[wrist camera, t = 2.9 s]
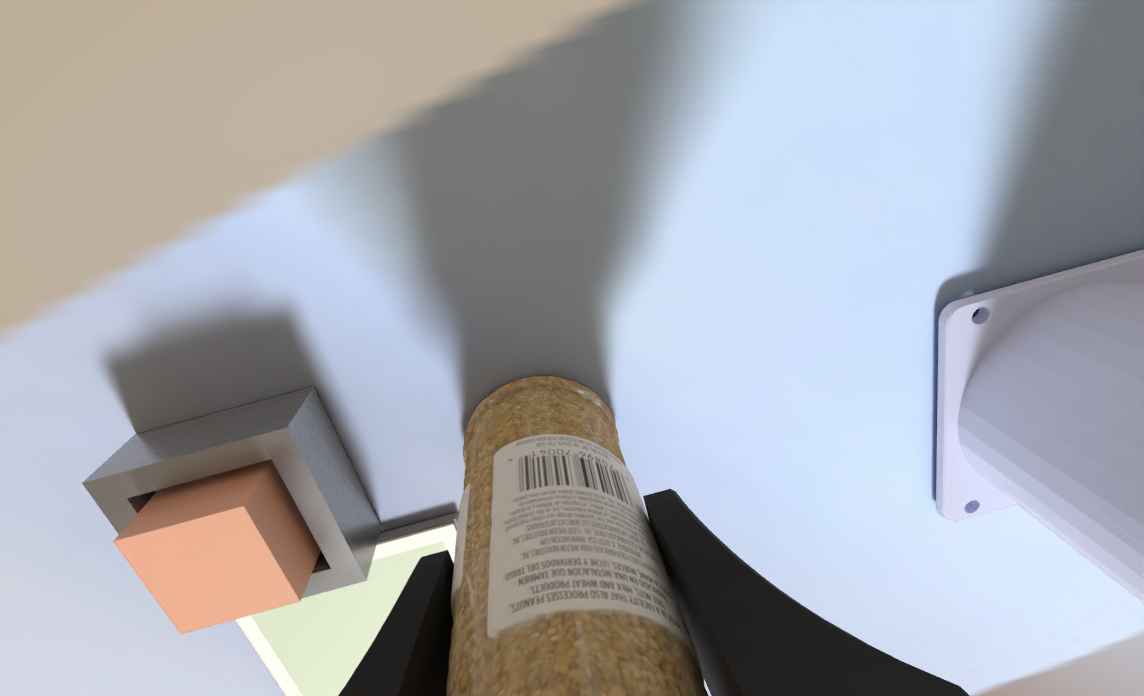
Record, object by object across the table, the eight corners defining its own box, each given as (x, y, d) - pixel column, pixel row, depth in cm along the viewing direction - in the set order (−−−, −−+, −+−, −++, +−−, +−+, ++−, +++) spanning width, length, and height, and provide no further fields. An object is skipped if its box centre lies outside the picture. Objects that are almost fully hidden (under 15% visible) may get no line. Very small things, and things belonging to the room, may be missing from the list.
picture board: (456, 511, 18) (455, 521, 18) (523, 675, 21) (523, 686, 21) (216, 577, 18) (210, 588, 18) (318, 732, 21) (314, 743, 21)
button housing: (314, 386, 16) (287, 427, 14) (381, 526, 18) (366, 580, 16) (135, 434, 16) (81, 482, 14) (222, 570, 18) (187, 629, 16)
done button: (274, 456, 15) (243, 506, 13) (322, 545, 16) (300, 601, 14) (160, 487, 15) (113, 541, 13) (216, 573, 16) (180, 634, 14)
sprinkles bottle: (437, 467, 17) (283, 1358, 5) (512, 341, 16) (551, 1122, 4) (569, 522, 19) (701, 1338, 6) (648, 410, 17) (1005, 1157, 5)
